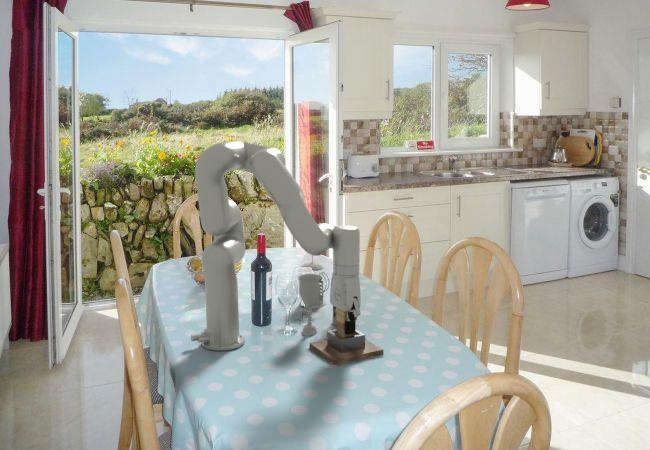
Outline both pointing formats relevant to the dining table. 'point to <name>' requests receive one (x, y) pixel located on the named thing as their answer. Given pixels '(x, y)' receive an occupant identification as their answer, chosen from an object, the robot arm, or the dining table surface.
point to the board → (345, 357)
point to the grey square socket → (346, 341)
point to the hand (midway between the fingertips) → (345, 330)
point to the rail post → (341, 323)
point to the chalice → (309, 298)
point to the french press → (319, 300)
